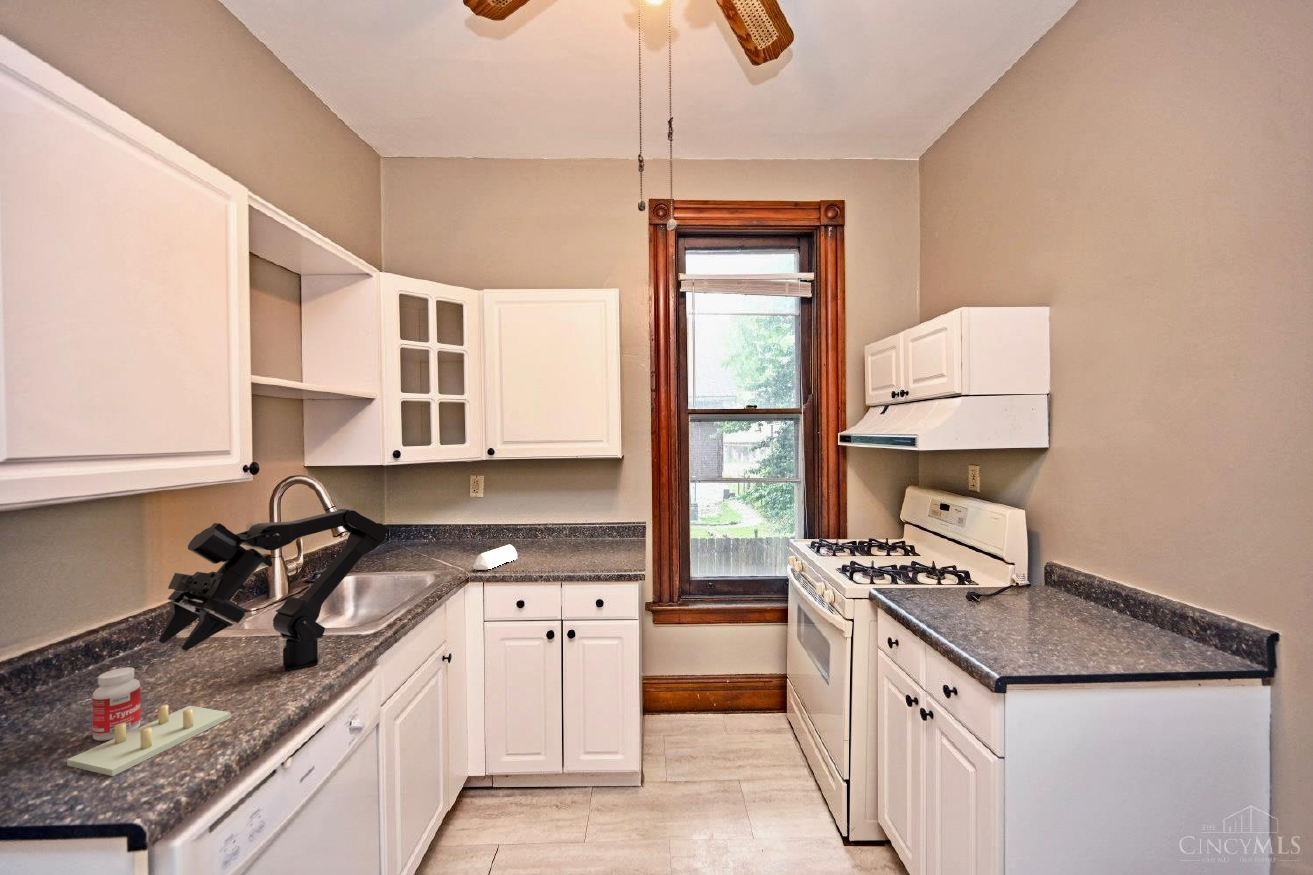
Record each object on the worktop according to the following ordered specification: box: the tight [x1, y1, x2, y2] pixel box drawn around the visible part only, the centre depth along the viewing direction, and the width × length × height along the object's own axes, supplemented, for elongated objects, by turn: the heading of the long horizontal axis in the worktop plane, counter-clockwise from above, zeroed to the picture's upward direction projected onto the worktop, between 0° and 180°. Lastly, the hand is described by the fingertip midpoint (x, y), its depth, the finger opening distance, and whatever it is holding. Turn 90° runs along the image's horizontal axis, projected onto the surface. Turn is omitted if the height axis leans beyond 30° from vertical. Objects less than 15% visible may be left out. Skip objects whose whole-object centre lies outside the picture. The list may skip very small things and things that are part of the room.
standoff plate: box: [66, 704, 232, 777], centre depth 94 cm, size 18×11×4 cm, turn 164°
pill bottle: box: [91, 667, 141, 742], centre depth 97 cm, size 6×6×11 cm
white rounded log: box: [473, 544, 518, 570], centre depth 221 cm, size 7×7×24 cm
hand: (171, 645), depth 104 cm, fingers open, 9 cm apart
